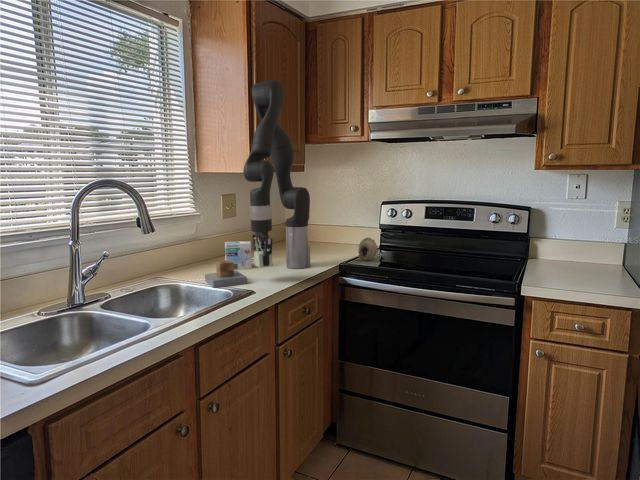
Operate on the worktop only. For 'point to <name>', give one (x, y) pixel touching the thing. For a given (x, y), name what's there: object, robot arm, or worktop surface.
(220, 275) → the walnut block
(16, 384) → the worktop surface
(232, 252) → the light bulb box
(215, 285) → the slate base
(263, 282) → the worktop surface
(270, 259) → the green block
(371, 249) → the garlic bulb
